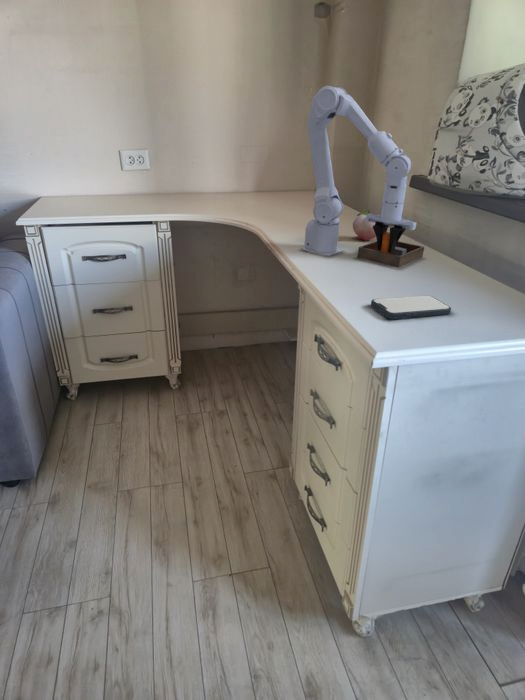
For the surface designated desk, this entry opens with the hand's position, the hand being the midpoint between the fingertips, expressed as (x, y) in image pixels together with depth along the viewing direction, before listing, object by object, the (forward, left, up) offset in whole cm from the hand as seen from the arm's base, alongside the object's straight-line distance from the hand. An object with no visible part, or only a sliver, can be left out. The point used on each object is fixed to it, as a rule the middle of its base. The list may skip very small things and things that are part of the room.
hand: (385, 250), depth 140 cm
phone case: (+22, -30, -3) cm, 38 cm away
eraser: (0, +7, -2) cm, 7 cm away
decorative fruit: (-16, +16, -3) cm, 23 cm away
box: (0, +3, -3) cm, 5 cm away
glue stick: (0, 0, -2) cm, 2 cm away
